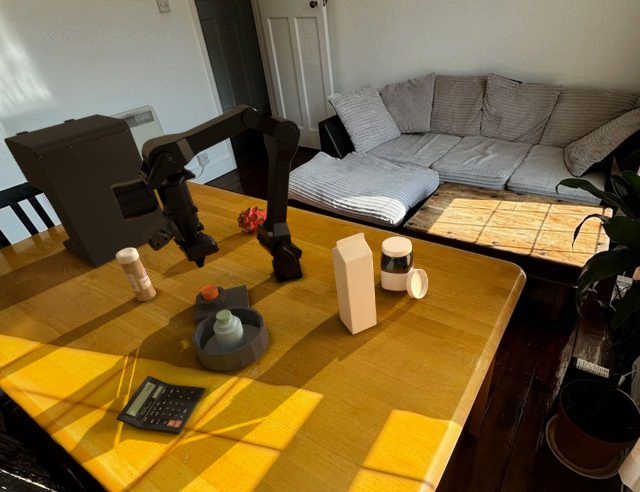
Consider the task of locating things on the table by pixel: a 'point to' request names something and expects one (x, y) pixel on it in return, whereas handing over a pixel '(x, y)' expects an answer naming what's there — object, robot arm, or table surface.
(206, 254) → the robot arm
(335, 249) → the milk
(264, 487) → the table surface
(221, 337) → the bottle
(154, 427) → the calculator
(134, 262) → the sprinkles bottle
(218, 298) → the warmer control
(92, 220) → the dark brown slanted box
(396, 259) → the spread jar
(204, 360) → the bottle warmer
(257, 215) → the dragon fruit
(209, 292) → the stop button
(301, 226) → the table surface
